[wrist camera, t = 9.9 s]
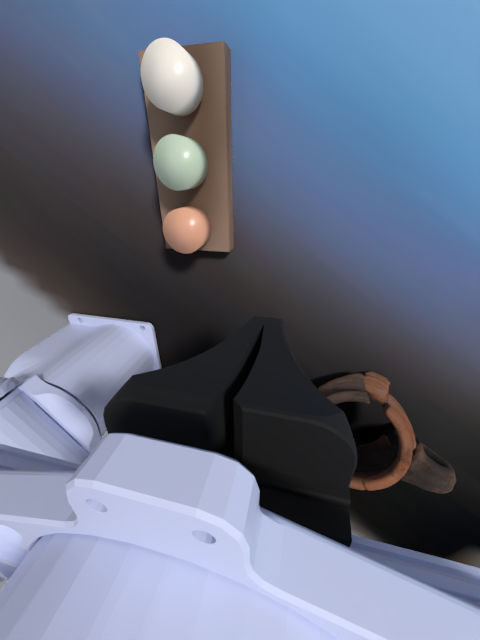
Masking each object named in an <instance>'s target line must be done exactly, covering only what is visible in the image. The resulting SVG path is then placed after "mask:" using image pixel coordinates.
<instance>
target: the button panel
mask: <svg viewBox="0 0 480 640" xmlns="http://www.w3.org/2000/svg"><path fill="white" fill-rule="evenodd" d="M181 47H183V48H184V49H185V50H186V51H187V52H188V53H189V54H190V55H191V56H192V57H193V58H194V59H195V60H196V62H197V63H198V65H199V67H200V69H201V72H202V76H203V95H202V98H201V101H200V103H199V105H198V107H197V108H196V109H195V111H194V112H192V113H191V114H189V115H187V116H176V115H174V114H171V113H169V112H166V111H164V110H161V109H159V108H157V107H156V106H155V105H154V104H153V103H152V102H151V101H150V100H149V98H148V97H147V95H146V93H145V91H144V95H145V103H146V110H147V117H148V124H149V131H150V138H151V145H152V152H153V153H154V149H155V147H156V145H157V143H158V142H159V140H160V139H161V138H163V137H164V136H166V135H169V134H176V135H181V136H185V137H189V138H192V139H194V140H195V141H197V142H198V143H199V144H200V145H201V146H202V148H203V149H204V151H205V153H206V156H207V160H208V171H207V175H206V177H205V179H204V181H203V182H202V183H201V184H200V185H199V186H198V187H196V188H193V189H188V190H181V191H176V190H172V189H170V188H168V187H166V186H165V185H164V184H163V183H162V182H161V181H160V179H159V178H158V176H157V174H156V181H157V188H158V195H159V202H160V209H161V216H162V223H163V222H164V219H165V217H166V215H167V214H168V213H169V212H170V211H172V210H175V209H178V208H181V207H185V206H195V207H198V208H200V209H201V210H203V211H204V212H205V213H206V215H207V216H208V218H209V220H210V223H211V236H210V239H209V240H208V242H207V243H206V244H205V245H203V246H202V247H200V248H199V249H197V250H203V251H220V252H230V251H231V250H232V249H233V248H234V238H233V180H232V121H231V62H230V49H229V47H228V46H227V45H226V43H225V42H224V41H222V42H213V43H204V44H195V45H186V46H181ZM145 51H146V50H140V51H138V53H139V60H140V67H141V63H142V58H143V55H144V53H145ZM155 173H156V172H155ZM165 244H166V248H170V249H173V248H172V247H171V246H170V245H169V244H168V243H167V241H166V239H165Z"/></svg>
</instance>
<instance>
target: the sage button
mask: <svg viewBox="0 0 480 640" xmlns="http://www.w3.org/2000/svg"><path fill="white" fill-rule="evenodd" d="M153 165H154V169H155V172H156V174H157V176H158V178H159V179H160V181H161V182H162V183H163V184H164V185H165V186H166V187H168V188H170V189H172V190H176V191H181V190H188V189H193V188H196V187H198V186H199V185H200V184H201V183H202V182H203V181H204V179H205V177H206V175H207V171H208V160H207V156H206V153H205V151H204V149H203V148H202V146H201V145H200V144H199V143H198V142H197V141H195V140H194V139H192V138H189V137H185V136H181V135H176V134H169V135H166V136H164V137H163V138H161V139H160V140H159V142H158V143H157V145H156V147H155V149H154V153H153Z"/></svg>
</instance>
